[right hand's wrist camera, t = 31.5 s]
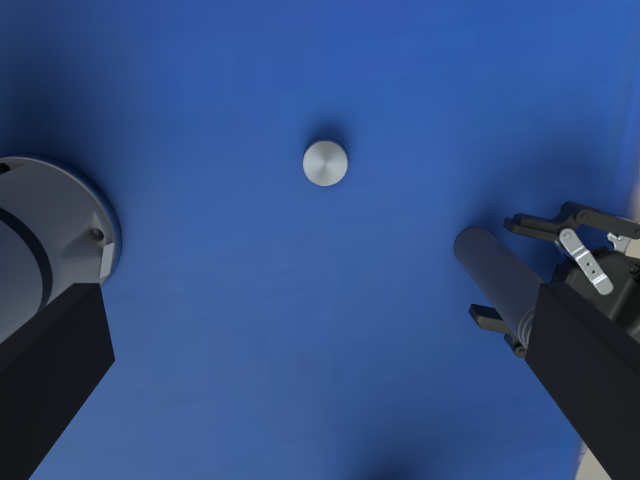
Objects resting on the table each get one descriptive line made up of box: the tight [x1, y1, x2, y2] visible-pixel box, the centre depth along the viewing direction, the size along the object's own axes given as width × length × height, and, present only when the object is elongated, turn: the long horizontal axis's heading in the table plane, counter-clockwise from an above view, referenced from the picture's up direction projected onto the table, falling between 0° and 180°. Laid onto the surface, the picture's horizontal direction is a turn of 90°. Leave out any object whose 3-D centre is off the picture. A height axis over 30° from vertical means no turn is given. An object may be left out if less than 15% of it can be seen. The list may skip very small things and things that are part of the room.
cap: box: [302, 137, 348, 186], centre depth 39 cm, size 4×4×2 cm
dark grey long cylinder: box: [454, 227, 546, 349], centre depth 33 cm, size 4×4×20 cm
